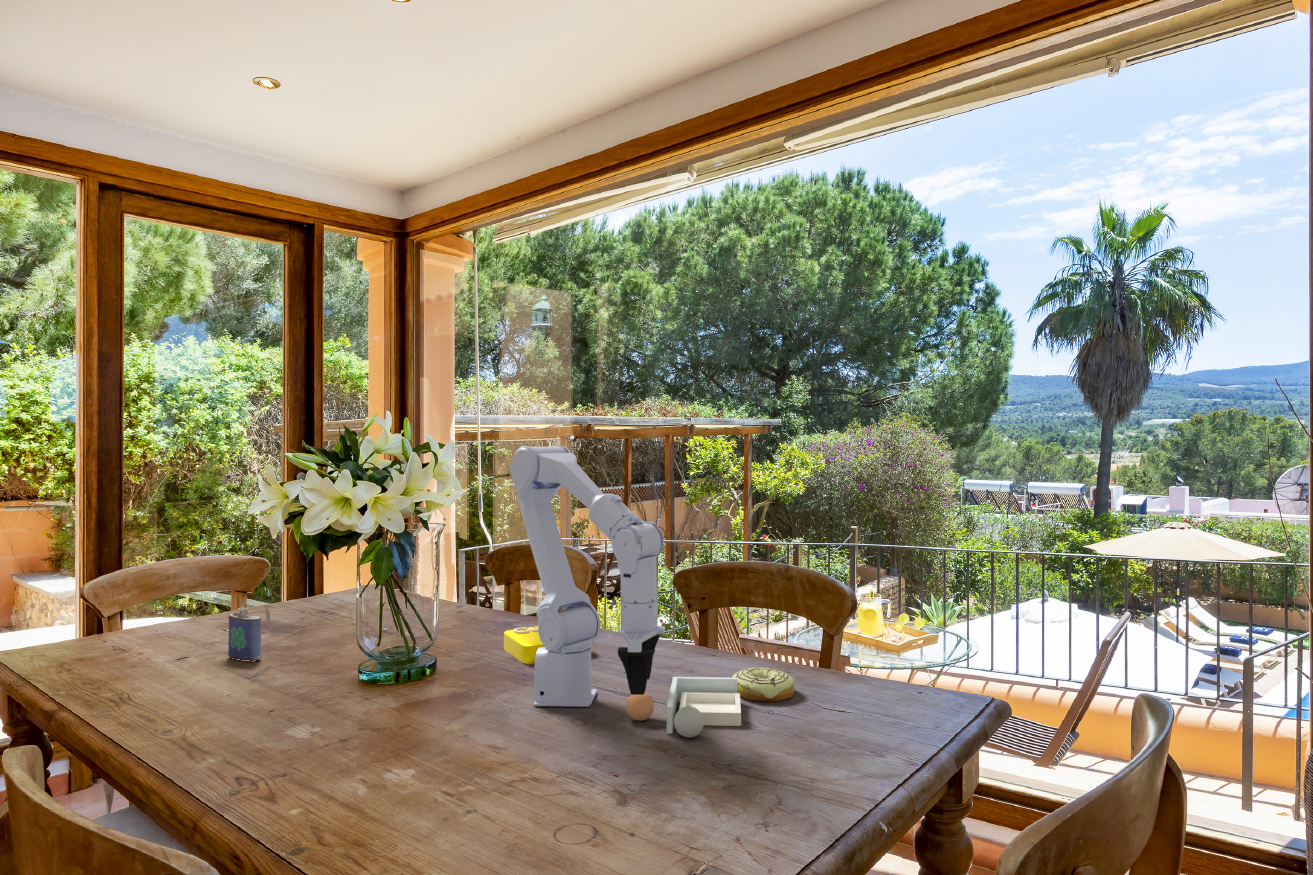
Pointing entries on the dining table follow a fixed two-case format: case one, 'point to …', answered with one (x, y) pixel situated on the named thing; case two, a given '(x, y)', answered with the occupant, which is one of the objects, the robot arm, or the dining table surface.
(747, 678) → the decorated donut
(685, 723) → the grey ball
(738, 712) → the ceramic dish
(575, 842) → the dining table surface
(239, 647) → the flask
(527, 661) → the element tile
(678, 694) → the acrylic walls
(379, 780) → the dining table surface
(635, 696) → the terracotta ball
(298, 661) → the dining table surface
